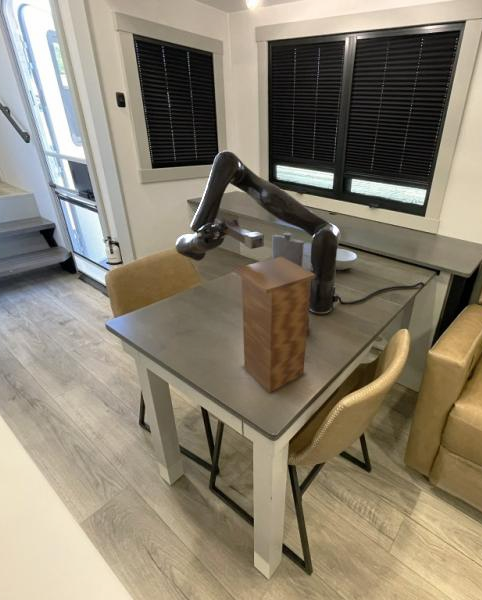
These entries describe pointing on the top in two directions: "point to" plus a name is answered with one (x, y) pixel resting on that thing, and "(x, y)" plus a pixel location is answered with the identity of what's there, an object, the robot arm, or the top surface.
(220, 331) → the top surface
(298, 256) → the hip flask
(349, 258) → the cereal bowl
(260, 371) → the oak stand
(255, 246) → the handle stick
